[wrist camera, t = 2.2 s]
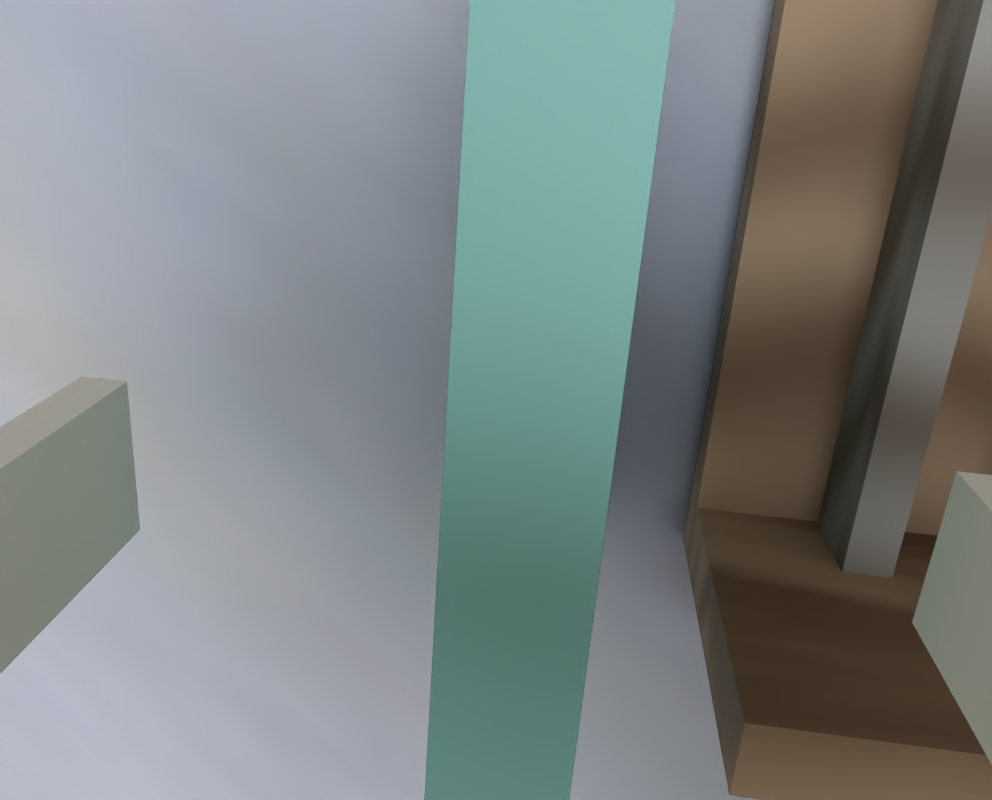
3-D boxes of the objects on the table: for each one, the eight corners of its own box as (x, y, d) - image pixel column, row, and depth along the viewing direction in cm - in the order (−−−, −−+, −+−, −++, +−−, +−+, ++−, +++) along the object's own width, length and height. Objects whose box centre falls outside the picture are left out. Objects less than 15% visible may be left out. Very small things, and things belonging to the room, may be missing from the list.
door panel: (573, 525, 31) (548, 953, 16) (505, 517, 31) (416, 933, 16) (632, 29, 25) (679, -36, 10) (548, 23, 25) (472, -50, 10)
